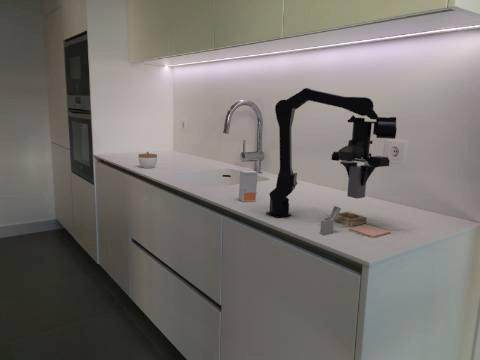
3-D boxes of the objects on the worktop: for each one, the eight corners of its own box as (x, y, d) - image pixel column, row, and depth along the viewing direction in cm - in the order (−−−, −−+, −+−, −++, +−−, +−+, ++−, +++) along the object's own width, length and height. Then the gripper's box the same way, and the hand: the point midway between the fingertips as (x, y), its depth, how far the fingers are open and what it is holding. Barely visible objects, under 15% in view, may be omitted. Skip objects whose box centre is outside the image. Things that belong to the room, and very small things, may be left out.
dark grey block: (347, 196, 133) (349, 166, 131) (354, 195, 135) (357, 165, 134) (357, 198, 130) (360, 168, 128) (364, 197, 132) (367, 167, 131)
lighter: (324, 235, 120) (326, 209, 119) (319, 233, 121) (321, 208, 120) (338, 231, 124) (341, 206, 123) (334, 230, 126) (336, 205, 124)
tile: (348, 230, 126) (348, 228, 126) (366, 226, 132) (366, 224, 132) (373, 238, 119) (373, 236, 119) (390, 233, 125) (390, 231, 125)
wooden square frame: (332, 220, 137) (332, 214, 137) (347, 217, 142) (347, 211, 142) (351, 226, 131) (351, 220, 131) (366, 222, 136) (366, 217, 135)
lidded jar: (141, 169, 230) (141, 153, 228) (136, 166, 239) (136, 150, 237) (159, 168, 235) (159, 152, 233) (153, 166, 244) (154, 150, 242)
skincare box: (242, 202, 158) (243, 172, 156) (238, 199, 162) (239, 170, 160) (256, 201, 161) (257, 171, 159) (252, 199, 165) (253, 170, 163)
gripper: (322, 135, 132) (318, 182, 134) (371, 139, 117) (366, 192, 120) (343, 135, 138) (340, 179, 141) (392, 139, 124) (387, 188, 127)
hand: (357, 184), depth 132 cm, fingers closed on dark grey block, 4 cm apart
